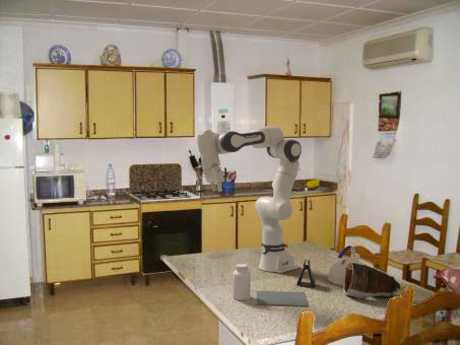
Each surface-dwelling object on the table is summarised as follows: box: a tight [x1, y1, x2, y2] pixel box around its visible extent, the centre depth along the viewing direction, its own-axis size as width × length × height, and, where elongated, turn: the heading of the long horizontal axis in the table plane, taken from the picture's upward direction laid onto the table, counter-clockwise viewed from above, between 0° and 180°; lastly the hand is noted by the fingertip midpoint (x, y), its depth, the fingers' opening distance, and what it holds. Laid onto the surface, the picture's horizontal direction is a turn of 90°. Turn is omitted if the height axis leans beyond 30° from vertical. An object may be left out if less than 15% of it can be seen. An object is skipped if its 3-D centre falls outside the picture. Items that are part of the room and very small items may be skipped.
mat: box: [256, 290, 309, 307], centre depth 208 cm, size 22×16×1 cm
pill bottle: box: [232, 263, 252, 301], centre depth 208 cm, size 8×8×15 cm
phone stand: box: [296, 259, 317, 288], centre depth 228 cm, size 9×6×12 cm, turn 76°
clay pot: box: [342, 262, 402, 300], centre depth 214 cm, size 15×15×25 cm
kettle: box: [327, 245, 364, 287], centre depth 236 cm, size 20×21×18 cm
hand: (217, 191), depth 226 cm, fingers open, 8 cm apart
